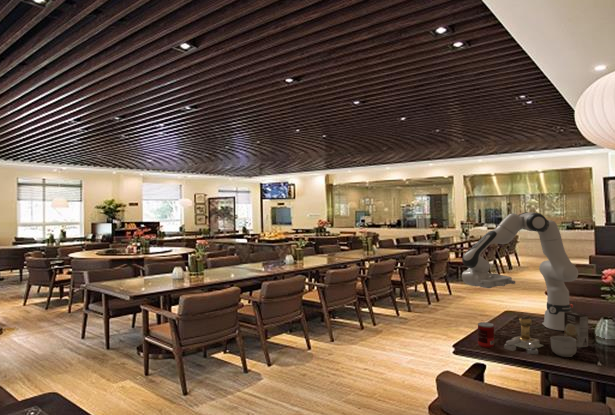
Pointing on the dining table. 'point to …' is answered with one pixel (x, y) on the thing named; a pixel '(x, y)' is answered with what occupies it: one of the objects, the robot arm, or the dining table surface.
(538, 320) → the dining table surface
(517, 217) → the robot arm
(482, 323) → the canned food
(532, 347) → the shaft
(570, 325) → the coffee box
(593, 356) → the dining table surface
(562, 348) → the teacup
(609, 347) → the dining table surface
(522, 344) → the coupling seat
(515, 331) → the dining table surface
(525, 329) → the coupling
